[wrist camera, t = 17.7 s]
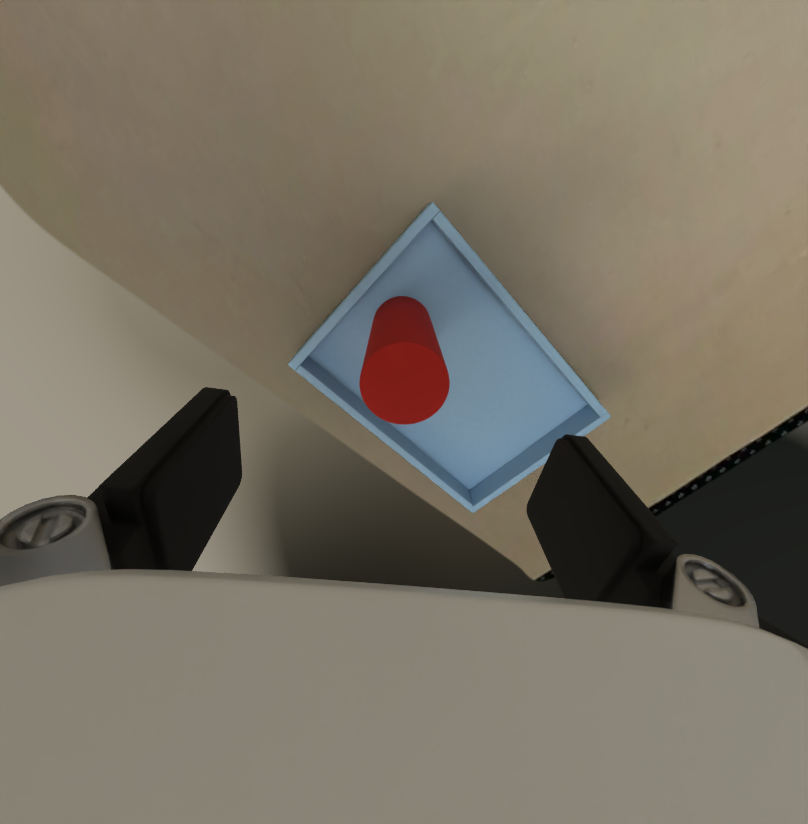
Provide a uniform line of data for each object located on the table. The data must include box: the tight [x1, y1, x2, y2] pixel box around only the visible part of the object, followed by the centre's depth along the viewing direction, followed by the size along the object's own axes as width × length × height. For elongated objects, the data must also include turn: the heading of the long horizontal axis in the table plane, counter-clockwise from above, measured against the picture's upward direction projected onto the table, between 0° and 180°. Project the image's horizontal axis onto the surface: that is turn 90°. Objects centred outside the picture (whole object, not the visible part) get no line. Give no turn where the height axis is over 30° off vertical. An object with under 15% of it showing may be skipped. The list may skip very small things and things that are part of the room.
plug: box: [359, 296, 450, 425], centre depth 20 cm, size 4×4×10 cm
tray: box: [288, 202, 611, 513], centre depth 26 cm, size 19×13×3 cm
